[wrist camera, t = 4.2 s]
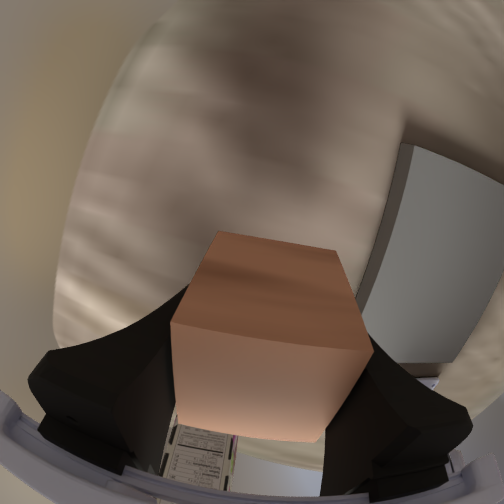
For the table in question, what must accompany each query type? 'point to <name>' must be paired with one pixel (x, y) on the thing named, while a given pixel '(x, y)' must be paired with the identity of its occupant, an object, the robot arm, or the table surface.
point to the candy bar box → (199, 458)
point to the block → (266, 340)
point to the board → (433, 258)
